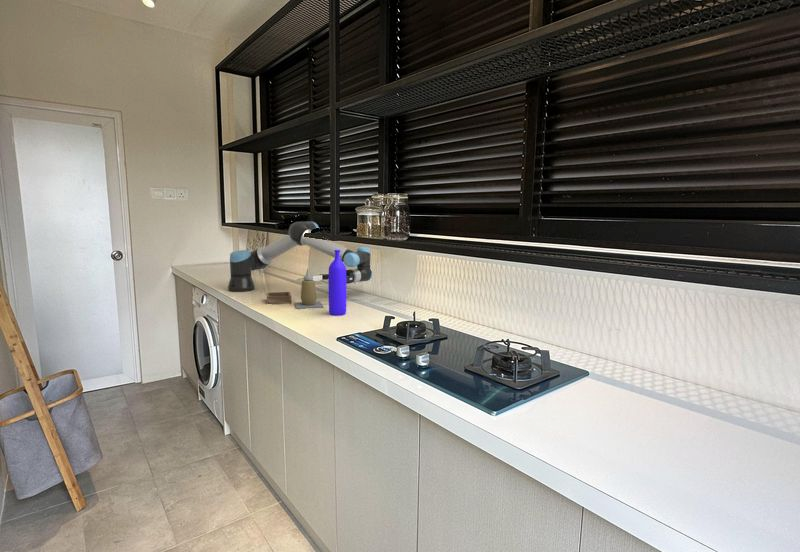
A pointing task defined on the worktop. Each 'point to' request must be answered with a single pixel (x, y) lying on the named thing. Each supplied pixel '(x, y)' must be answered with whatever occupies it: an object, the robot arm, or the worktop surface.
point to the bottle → (337, 286)
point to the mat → (300, 305)
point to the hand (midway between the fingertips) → (319, 280)
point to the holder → (279, 298)
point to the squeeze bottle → (308, 290)
